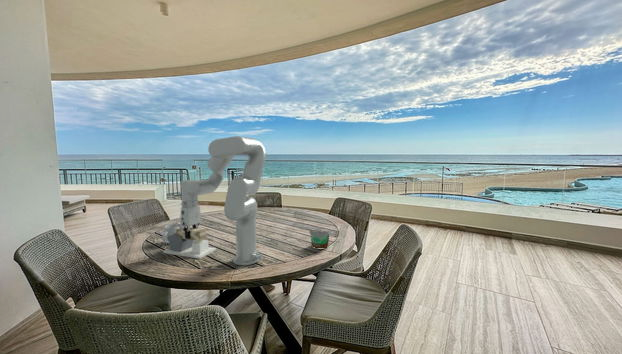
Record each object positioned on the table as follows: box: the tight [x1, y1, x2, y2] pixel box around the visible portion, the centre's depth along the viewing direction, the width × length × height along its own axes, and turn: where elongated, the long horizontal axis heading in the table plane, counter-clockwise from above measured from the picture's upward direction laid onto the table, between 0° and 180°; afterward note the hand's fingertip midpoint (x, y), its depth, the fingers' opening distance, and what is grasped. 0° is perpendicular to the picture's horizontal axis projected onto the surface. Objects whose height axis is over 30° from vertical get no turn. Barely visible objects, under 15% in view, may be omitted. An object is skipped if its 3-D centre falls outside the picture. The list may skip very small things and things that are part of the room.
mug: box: [161, 223, 181, 245], centre depth 137 cm, size 13×9×10 cm
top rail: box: [176, 227, 207, 242], centre depth 125 cm, size 16×4×5 cm, turn 72°
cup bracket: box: [162, 233, 217, 260], centre depth 125 cm, size 24×12×9 cm, turn 72°
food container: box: [308, 228, 331, 249], centre depth 130 cm, size 12×6×10 cm, turn 76°
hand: (191, 236), depth 125 cm, fingers closed on top rail, 3 cm apart
